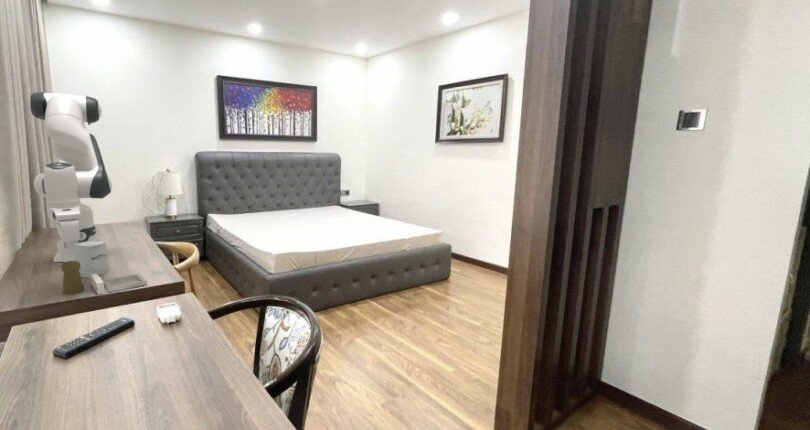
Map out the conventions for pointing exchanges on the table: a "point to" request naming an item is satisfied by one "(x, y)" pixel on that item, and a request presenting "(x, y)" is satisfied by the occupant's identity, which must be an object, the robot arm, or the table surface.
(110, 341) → the table surface
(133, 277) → the grey square tray
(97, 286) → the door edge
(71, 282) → the cork
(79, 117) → the robot arm
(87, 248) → the supplement box
